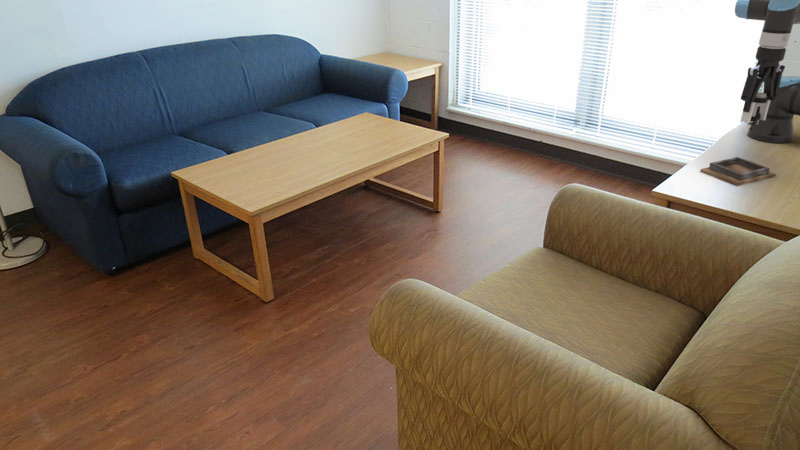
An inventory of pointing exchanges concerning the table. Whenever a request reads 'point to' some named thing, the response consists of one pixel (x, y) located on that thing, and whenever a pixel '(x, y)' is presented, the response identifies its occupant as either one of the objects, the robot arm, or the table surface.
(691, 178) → the table surface
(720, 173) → the dock
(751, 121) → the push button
